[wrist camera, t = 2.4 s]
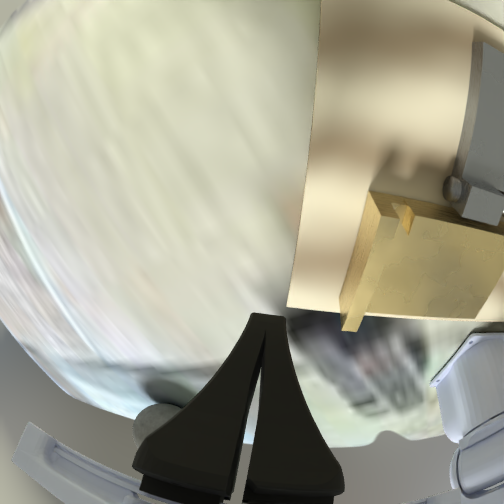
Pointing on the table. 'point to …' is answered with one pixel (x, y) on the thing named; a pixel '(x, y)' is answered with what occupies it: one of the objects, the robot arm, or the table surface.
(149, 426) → the decorative ball
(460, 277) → the loose leaf
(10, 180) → the table surface
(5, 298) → the table surface
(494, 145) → the fixed leaf
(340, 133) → the board
